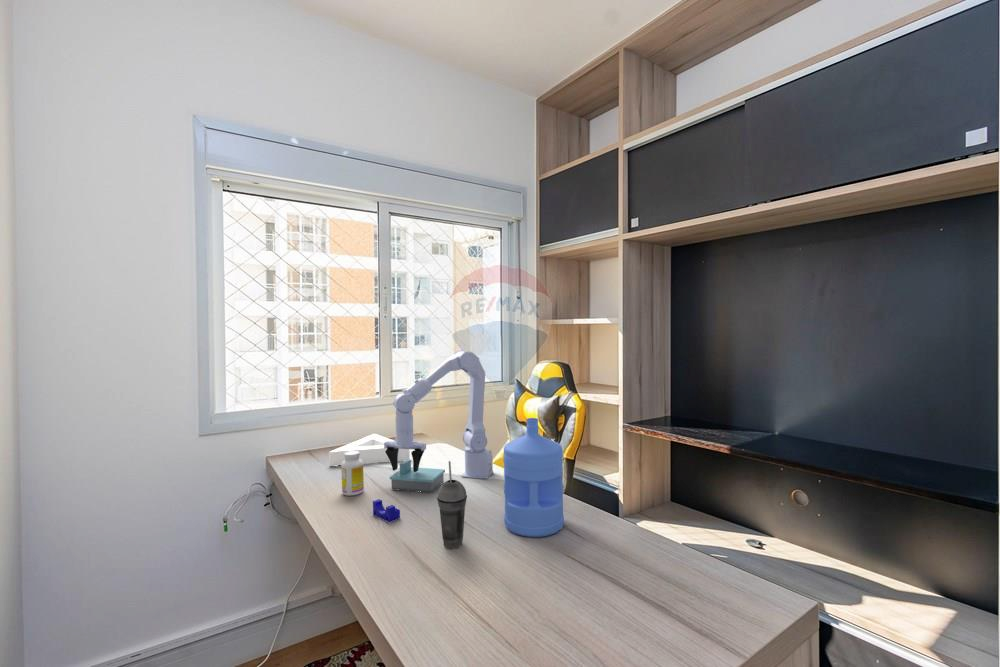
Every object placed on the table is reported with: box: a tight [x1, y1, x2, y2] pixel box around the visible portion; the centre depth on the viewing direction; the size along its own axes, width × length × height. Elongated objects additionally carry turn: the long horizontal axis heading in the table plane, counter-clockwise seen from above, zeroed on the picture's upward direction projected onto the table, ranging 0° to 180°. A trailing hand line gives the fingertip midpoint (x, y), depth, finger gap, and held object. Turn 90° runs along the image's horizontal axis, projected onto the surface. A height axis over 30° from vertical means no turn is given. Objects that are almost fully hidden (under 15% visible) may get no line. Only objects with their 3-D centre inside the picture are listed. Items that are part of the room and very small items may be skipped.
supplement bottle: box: [340, 451, 365, 497], centre depth 146 cm, size 7×7×13 cm
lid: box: [389, 459, 446, 483], centre depth 151 cm, size 15×11×5 cm
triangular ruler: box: [328, 433, 411, 466], centre depth 189 cm, size 30×26×6 cm
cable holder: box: [372, 498, 401, 523], centre depth 128 cm, size 8×4×4 cm, turn 47°
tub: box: [390, 473, 445, 494], centre depth 151 cm, size 14×10×4 cm
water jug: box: [502, 417, 565, 538], centre depth 120 cm, size 16×16×28 cm
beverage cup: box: [436, 460, 468, 549], centre depth 110 cm, size 7×7×20 cm
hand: (405, 470), depth 152 cm, fingers open, 7 cm apart
